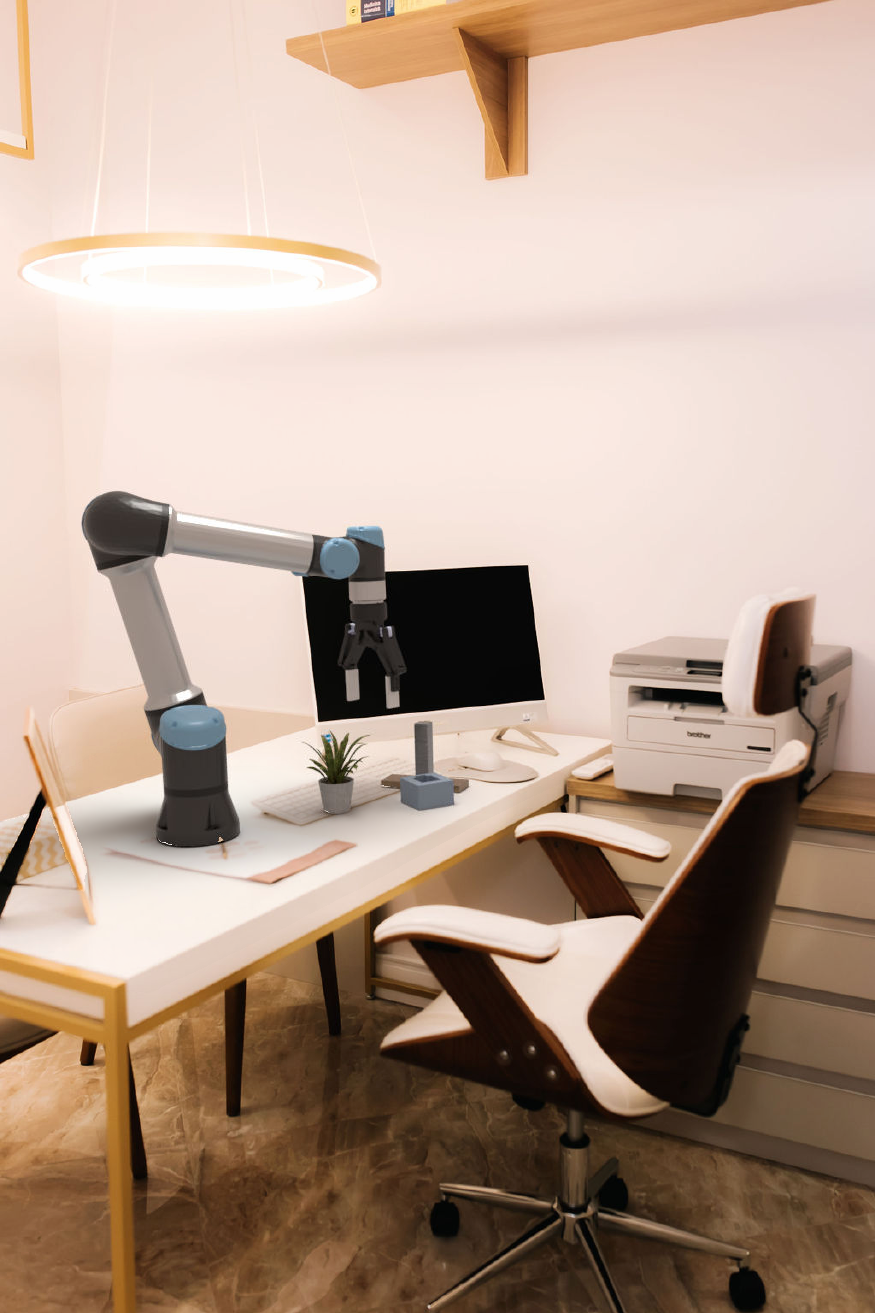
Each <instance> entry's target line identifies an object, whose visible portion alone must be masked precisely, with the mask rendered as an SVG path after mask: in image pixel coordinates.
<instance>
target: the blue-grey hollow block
mask: <svg viewBox="0 0 875 1313" xmlns="http://www.w3.org/2000/svg"><path fill="white" fill-rule="evenodd" d="M413 775H414V774H413ZM449 778H450V777H447V776H445V775H441V774H440V773H437V772H433V773H427V774H420V775H416V774H415V775H414V776H408V777H401V778H400V789H399V790H400V802H401V803H403V804H405V805H406V806H409V807H411V808H413V809H416V810H417V811H423V810H430V809H435V808H441V807H447V806H452V805H455V799H454V798H455V793H454V781H453V780H452V779H449Z"/></svg>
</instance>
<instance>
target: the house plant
mask: <svg viewBox="0 0 875 1313" xmlns="http://www.w3.org/2000/svg"><path fill="white" fill-rule="evenodd" d="M328 731H329V732H328ZM328 731H327V733H329V735H330V738H331V742H332V744H333V745H331V743H330V742H329V741H328V739H327V738H326V737H325V735H322V734H321V735H320V737H321V741H322V744H323V748H324V754H325V756H324V755H323V753H322V752H321V751H320V750H319V748H314V747H313V746H312V745H310V744H309V743H307V742H304V741H302V743H303V744H305V745H307V746H309V747H310V748H311V749H313V751H315V753H316V754H317V756H318V757H320V759H321V761H322V762H323V763H324V765H325V766H326V767H325V766H324V765H323V764H322V763H321V762H319V761H317V760H315V759H312V758H309V760H310V761H311V762H313V764H314V765H315V766H316V767H315V766H307V767H306V768H305V769H310V770H313V771H315V772H318V773H319V774H320V775H321V776H322V778H320V779H318V781H317V782H318V788H319V793H320V797H321V802H322V806H323V811H324V810H326V811H328V812H329V813H330V815H341V814H346V813H349V812H350V811H351V807H352V806H351V804H352V797H353V790H354V781H355V779H354V777H352V776H348V775H349V774H354V771H353V769H355V770H356V771H357V769H358V767H359V765H358V763H359V762H361V763H362V764H364V763H363V761H362V760H363V759H364V758H369V757H370V755H367V756H362V757H360V758H359V759H353V757H354V755H355V753H356V752H357V751H358V750H359V749H361V748H362V747H364V746H366V745H367V743H364V742H359V741H360V740H362V739H363V738H365V737H366V738H367V737H370V736H371V734H367V735H366V734H365V735H363V736H360V737H358V738H356V740H354V741H353V742H352V743H351V744H350V746H349V747H348V750H347V751H346V749H347V746H348V742H349V736H350V732H347V733H346V734H345V736H343V740H341V741H340V743H339V745H338V740H337V738H336V736H335V735H334V733H333V732H332V731H331V729H329V730H328ZM358 744H359V745H358ZM355 745H358V747H356V749H354V750H353V752H352V749H353V748H354V746H355ZM333 750H334V751H333ZM350 752H352V754H351V755H350V757H349V759H348V760H347V758H348V756H349V754H350ZM346 760H347V762H346ZM353 762H354V763H353ZM344 763H345V764H344ZM351 763H353V765H351V766H350V764H351ZM317 767H319V768H317ZM325 775H326V776H325Z"/></svg>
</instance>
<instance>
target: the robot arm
mask: <svg viewBox="0 0 875 1313" xmlns="http://www.w3.org/2000/svg"><path fill="white" fill-rule="evenodd" d="M81 531H82V533H83V536H84V539H85V540H86V541H87V543H88V546H89V550H90V552H91V555H92V558H93V561H94V564H95V566H96V567H95V568H96V570H97V572H98V573H99V574H101V575H102V576H105V577H107V578H108V580H109V582H110V585H111V589H112V592H113V594H114V598H115V601H116V603H117V607H118V610H119V612H120V616H121V619H122V622H123V625H124V628H125V632H126V634H127V637H128V639H129V643H130V646H131V649H132V652H133V655H134V658H135V660H136V664H137V667H138V670H139V673H140V676H141V680H142V682H143V686H144V688H145V691H146V694H147V700H146V702H145V703H144V705H143V710H144V714H145V718H146V720H147V724H148V726H149V730H150V732H151V733H150V734H151V735H150V737H151V740H152V743H153V745H154V747H155V749H156V750H157V752H158V753H159V755H160V757H161V766H162V783H163V800H162V804H161V808H160V811H159V815H158V819H157V823H156V828H155V831H156V832H155V833H156V839H157V838H158V839H159V840H160V841H161V842H166V843H168V844H172V845H177V846H176V847H181V846H191V847H200V846H201V847H202V845H204V846H210V845H215V844H219V843H218V841H219V837H221V838H222V839H223V840H224V842H226V841H229V840H233V838H236V837H237V836H238V835H239V834H241V825H240V824H241V822H240V818H239V815H238V812H237V809H236V808H235V805H234V803H233V799H232V797H231V794H230V791H229V777H228V775H229V774H228V756H227V739H226V738H227V736H226V735H227V725H226V724H227V723H226V722H225V720H226V719H225V716H224V713H223V712H222V711H221V710H219V709H218V708H216V707H213V706H208V704H207V702H206V697H205V695H204V692H203V689H202V688H201V687H199V686H197V685H195V684H193V683H192V680H191V677H190V673H189V670H188V667H187V664H186V662H185V659H184V655H183V652H182V649H181V646H180V642H179V639H178V637H177V633H176V630H175V627H174V624H173V620H172V618H171V614H170V612H169V608H168V605H167V602H166V600H165V596H164V593H163V590H162V587H161V584H160V580H159V578H158V574H157V571H156V568H155V564H156V561H157V559H158V558H165V557H166V556H167V555H169V554H177V555H182V556H188V557H196V558H203V559H207V560H208V559H209V560H214V561H222V562H228V563H234V564H241V565H248V566H253V567H261V568H267V569H268V568H269V569H273V570H280V571H286V572H287V571H288V572H291V574H292V575H293V576H296V577H305V578H306V577H307V578H308V577H313V576H317V577H323V578H324V577H325V578H329V579H334V580H342V579H346V578H348V594H349V595H348V598H349V600H350V601H351V603H350V605H349V610H350V611H349V612H350V615H349V616H350V620H351V621H352V623H350V622H349V623H346V624H345V625H344V637H343V640H342V644H341V648H340V651H339V656H338V659H337V665H338V666H339V667H342V668H343V670H344V679H345V684H346V701H347V702H353V701H358V700H360V683H359V682H360V681H359V680H360V679H359V669H358V668H359V667H358V662H359V660H360V658H361V657H362V655H363V653H364V651H365V649H366V647H367V648H371V649H372V650H374V651H375V653H376V655H377V657H378V658H379V660H380V662H381V664H382V666H383V667H384V669H385V672H386V675H385V677H384V678H385V695H386V696H385V697H386V698H385V699H386V709H393V708H398V707H399V708H400V689H401V687H400V676H401V675H402V674H404V673H405V674H406V673H407V667H406V663H405V660H404V657H403V655H402V651H401V649H400V646H399V642H398V639H397V637H396V631H395V630H396V629H395V627H394V625H390V626H384V625H385V624H384V622H385V621H386V620H387V619H388V606H387V603H386V601H384V600H386V599H387V591H386V590H387V589H386V587H387V586H386V565H385V564H386V563H385V562H386V561H385V560H386V559H385V557H386V556H385V555H386V554H385V549H386V548H385V540H384V539H385V536H384V532H383V529H382V528H381V527H380V526H379V525H363V526H362V525H361V526H349V527H347V529H346V534H345V536H340V537H339V536H338V537H337V536H336V537H335V536H334V537H332V536H325V535H319V534H311V533H307V532H302V531H298V530H297V531H295V530H290V529H284V528H278V527H272V526H268V525H267V526H266V525H260V524H255V523H249V522H242V521H237V520H231V519H226V518H225V519H224V518H221V517H220V518H219V517H213V516H209V515H208V516H207V515H202V514H196V513H191V512H185V511H178V510H176V509H175V508H174V507H173V505H172V504H171V503H167V502H165V503H164V502H160V501H155V500H152V499H148V498H145V497H141V496H138V495H135V494H133V493H130V492H127V491H123V490H122V491H121V490H113V491H108V492H105V493H102V494H99V495H97V496H95V497H94V498H93V499H92V500H91V501H90V502H89V503H88V504H87V505H86V507H85V508H84V511H83V513H82V516H81Z"/></svg>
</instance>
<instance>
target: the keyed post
mask: <svg viewBox="0 0 875 1313" xmlns="http://www.w3.org/2000/svg"><path fill="white" fill-rule="evenodd" d="M433 728H434V727H433V721H431V720H424V721H421V720H420V721H417V722H415V723H414V724H413V729H414V730H413V731H414V763H415V775H420V774H427V773H433V772H434V770H435V768H434V767H435V766H434V765H435V764H434V734H433V731H434V730H433ZM408 776H414V774H413V775H410V774H397V773H390V774H389V775H388V776H386V777H385V778H382V779H381V780H380V786H381V785H384V786H390V787H396V788H395V789H399V790H400V778H401V777H408ZM448 778H449V779H452V780H453V781H454V794H455V793H456V794H460V793H462V792H463V791H465V790H466V789H467V788H469V786H470V779H467V778H453V777H448Z"/></svg>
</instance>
